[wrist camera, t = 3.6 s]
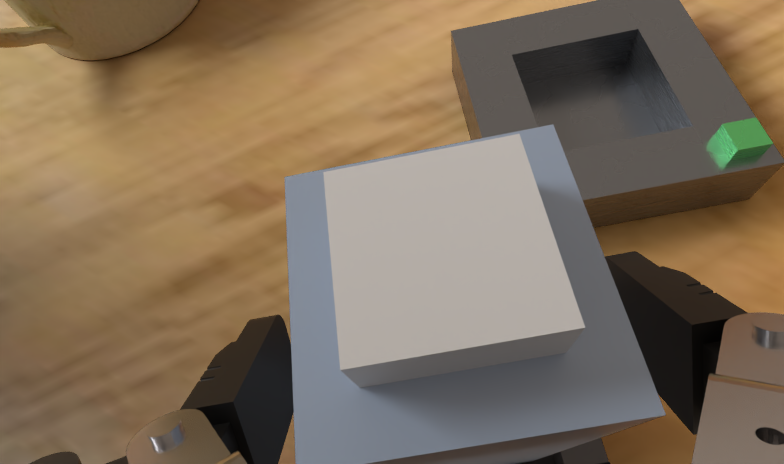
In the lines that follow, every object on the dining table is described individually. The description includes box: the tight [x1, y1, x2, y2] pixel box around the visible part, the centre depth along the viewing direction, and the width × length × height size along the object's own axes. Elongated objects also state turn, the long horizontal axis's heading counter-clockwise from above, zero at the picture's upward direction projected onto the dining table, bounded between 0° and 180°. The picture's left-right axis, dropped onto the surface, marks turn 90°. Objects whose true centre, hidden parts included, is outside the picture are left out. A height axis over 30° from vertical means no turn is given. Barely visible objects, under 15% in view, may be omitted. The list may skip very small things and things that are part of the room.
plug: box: [285, 124, 666, 464], centre depth 11 cm, size 4×4×13 cm
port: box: [451, 0, 784, 228], centre depth 21 cm, size 10×10×3 cm
